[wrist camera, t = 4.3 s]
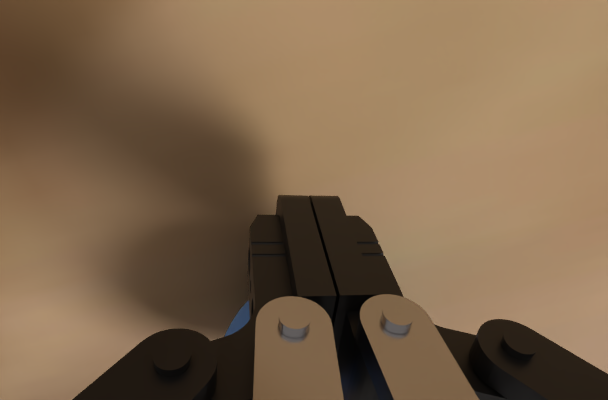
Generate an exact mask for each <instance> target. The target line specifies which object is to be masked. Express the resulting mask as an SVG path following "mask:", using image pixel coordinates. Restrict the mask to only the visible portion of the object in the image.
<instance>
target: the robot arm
mask: <svg viewBox="0 0 608 400" xmlns="http://www.w3.org/2000/svg"><path fill="white" fill-rule="evenodd" d="M248 295H249V315H250V320H249V321H248V323H247V324H246V325H245V326H244V327H242V328H241V329H240V330H238V331H236V332H235V333H233V334H231V335H228V336H225V337H222V338H219V339H216V340H213V341H210V340H209V339H208V338H207V337H205V336H204V335H202V334H200V333H198V332H196V331H193V330H189V329H168V330H164V331H160V332H158V333H155V334H153V335H151V336H149V337H148V338H146V339H145V340H143V341H142V342H141V343H139V344H138V345H137V346H136V347H135V348H133V349H132V350H131V351H130V352H129V353H128V354H126V355H125V356H124V357H123V358H122V359H120V360H119V361H118V362H117V363H116V364H114V365H113V366H112V367H111V368H110V369H108V370H107V371H106V372H105V373H104V374H102V375H101V376H100V377H99V378H98V379H96V380H95V381H94V382H93V383H92V384H90V385H89V386H88V387H87V388H86V389H84V390H83V391H82V392H81V393H80V394H78V395H77V396H76V397H75V398H74V399H73V400H608V374H607V373H605V372H603V371H602V370H600V369H598V368H596V367H595V366H593V365H591V364H590V363H588V362H586V361H585V360H583V359H581V358H579V357H578V356H576V355H574V354H573V353H571V352H569V351H568V350H566V349H564V348H562V347H561V346H559V345H557V344H556V343H554V342H552V341H550V340H549V339H547V338H545V337H544V336H542V335H540V334H539V333H537V332H535V331H533V330H532V329H530V328H528V327H526V326H524V325H522V324H519V323H517V322H514V321H510V320H504V319H495V320H490V321H487V322H485V323H484V324H483V325H482V326H481V327H480V329H479V331H478V333H477V335H473V334H468V333H464V332H460V331H455V330H451V329H446V328H443V327H439V326H437V325H434V323H433V322H432V320H431V318H430V317H429V315H428V314H427V313H426V312H425V310H424V309H423V308H421V307H420V306H419V305H418V304H416V303H415V302H413V301H411V300H409V299H407V298H404V297H403V295H402V292H401V290H400V288H399V286H398V284H397V281H396V279H395V277H394V275H393V273H392V271H391V268H390V266H389V264H388V262H387V260H386V258H385V256H383V251H382V249H381V247H380V245H379V244H378V240H377V238H376V236H375V234H374V232H373V229H372V228H371V227H370V226H369V225H368V224H367V223H366V222H365V221H364V220H362V219H361V218H360V217H359V216H346V214H345V211H344V208H343V206H342V203H341V201H340V198H339V197H338V196H309V197H308V196H295V195H279V196H278V199H277V207H276V215H257V217H256V219H255V220H254V222H253V223H252V225H251V227H250V238H249V256H248Z"/></svg>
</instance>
